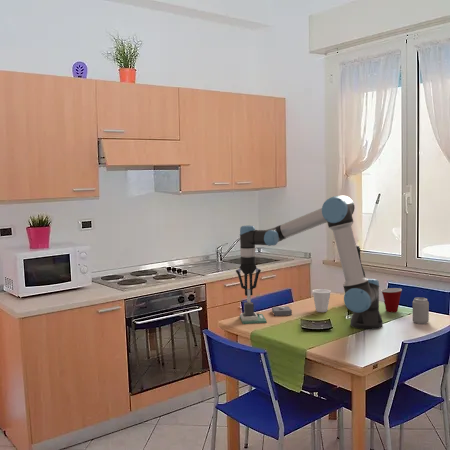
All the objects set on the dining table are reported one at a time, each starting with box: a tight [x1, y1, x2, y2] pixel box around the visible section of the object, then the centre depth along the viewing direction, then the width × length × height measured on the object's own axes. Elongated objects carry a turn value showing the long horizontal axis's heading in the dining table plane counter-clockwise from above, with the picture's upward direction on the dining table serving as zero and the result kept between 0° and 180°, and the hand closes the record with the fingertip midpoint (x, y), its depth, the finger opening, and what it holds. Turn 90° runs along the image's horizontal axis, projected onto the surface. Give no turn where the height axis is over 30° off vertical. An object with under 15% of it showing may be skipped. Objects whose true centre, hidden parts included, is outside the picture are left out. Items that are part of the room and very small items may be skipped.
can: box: [412, 297, 430, 325], centre depth 266 cm, size 8×8×12 cm
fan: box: [271, 305, 293, 317], centre depth 290 cm, size 9×9×3 cm
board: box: [239, 311, 267, 325], centre depth 279 cm, size 14×12×3 cm
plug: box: [243, 301, 255, 317], centre depth 278 cm, size 5×4×8 cm
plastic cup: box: [380, 287, 403, 313], centre depth 289 cm, size 11×11×12 cm
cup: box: [311, 288, 332, 313], centre depth 293 cm, size 10×10×11 cm
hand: (248, 301), depth 277 cm, fingers closed
